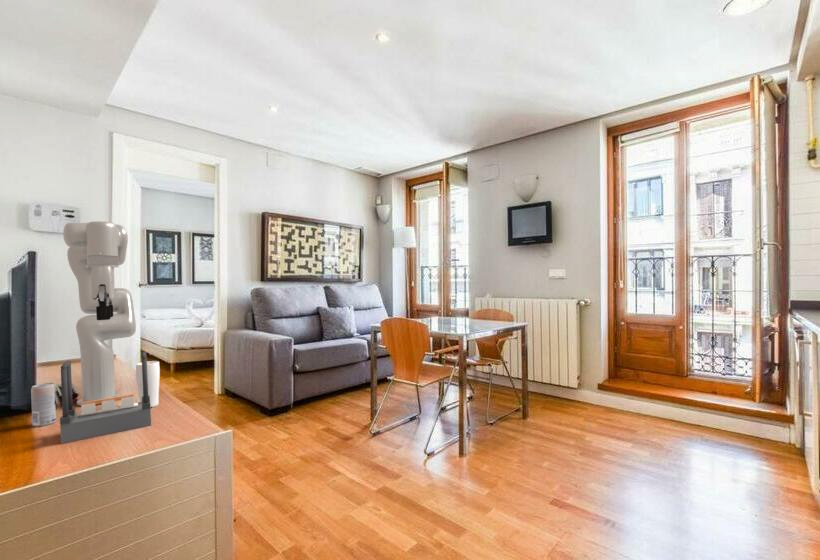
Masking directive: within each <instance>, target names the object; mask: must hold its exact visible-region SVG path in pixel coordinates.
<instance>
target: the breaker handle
mask: <svg viewBox="0 0 820 560" xmlns="http://www.w3.org/2000/svg"><path fill="white" fill-rule="evenodd" d="M134 395H135V394H134V393H131V394H126V395H125V394H123V395H121V396H117V397H111V398H105V399H99V400H93V401H87V402H82V403H81V406H80V407H81V412H77V417H81V416H86V415H92V414H98V413H103V412H109V411H115V410H120V409H126V408H131V407H137V406H138V403H139V402H135V397H134ZM119 401H120V405H117V407H116V402H119ZM101 403H102V404H101ZM134 403H135V404H134ZM96 404H97V405H101V408H100V410H99V409H97V407H96Z"/></svg>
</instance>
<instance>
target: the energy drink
mask: <svg viewBox="0 0 820 560" xmlns="http://www.w3.org/2000/svg"><path fill="white" fill-rule="evenodd" d="M55 389H56V386H55V384H54V383H53V382H47V383H39V384H35V385H32V386H31V389H30V400H31V419H32V420H31V424H32V427H34V426H35V428H40V427H39V426H41V427H45V426H49V424H50V425H52V424H54V423H56V421H57V414H56V413H57V411H56V410H57V409H56V390H55Z"/></svg>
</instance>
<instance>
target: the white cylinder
mask: <svg viewBox="0 0 820 560" xmlns="http://www.w3.org/2000/svg"><path fill="white" fill-rule="evenodd" d="M160 376H161V368H160V361H158V360H151V361H150V360H149V361H148V360H147V378H148V396H150V409H152V408H154V407H157V406H158V405H159V403H160V402H159V399H160V397H159V395H160V393H159V392H160V380H161V379H160ZM135 377H136V383H137V385H136V386H137V391H138V397H139V402H142V397H143V376H142V362H139V363H136V364H135ZM151 407H152V408H151Z"/></svg>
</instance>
